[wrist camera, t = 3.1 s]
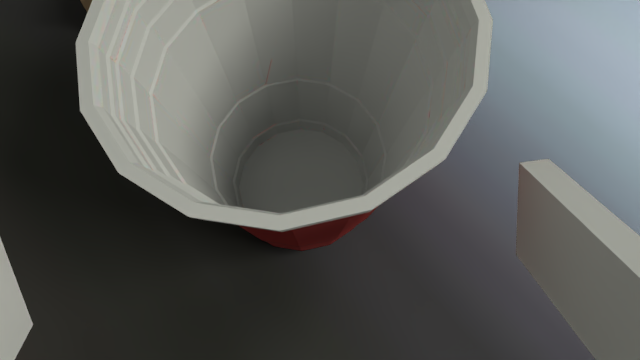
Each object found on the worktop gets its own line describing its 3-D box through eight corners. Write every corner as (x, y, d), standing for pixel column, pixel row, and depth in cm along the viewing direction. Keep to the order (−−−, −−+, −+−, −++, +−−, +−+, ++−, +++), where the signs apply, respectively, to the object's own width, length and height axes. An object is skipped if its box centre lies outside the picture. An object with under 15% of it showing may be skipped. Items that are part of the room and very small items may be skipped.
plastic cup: (296, 34, 29) (280, -198, 18) (471, 179, 27) (582, 15, 15) (122, 187, 26) (-26, 28, 15) (298, 365, 24) (279, 333, 13)
